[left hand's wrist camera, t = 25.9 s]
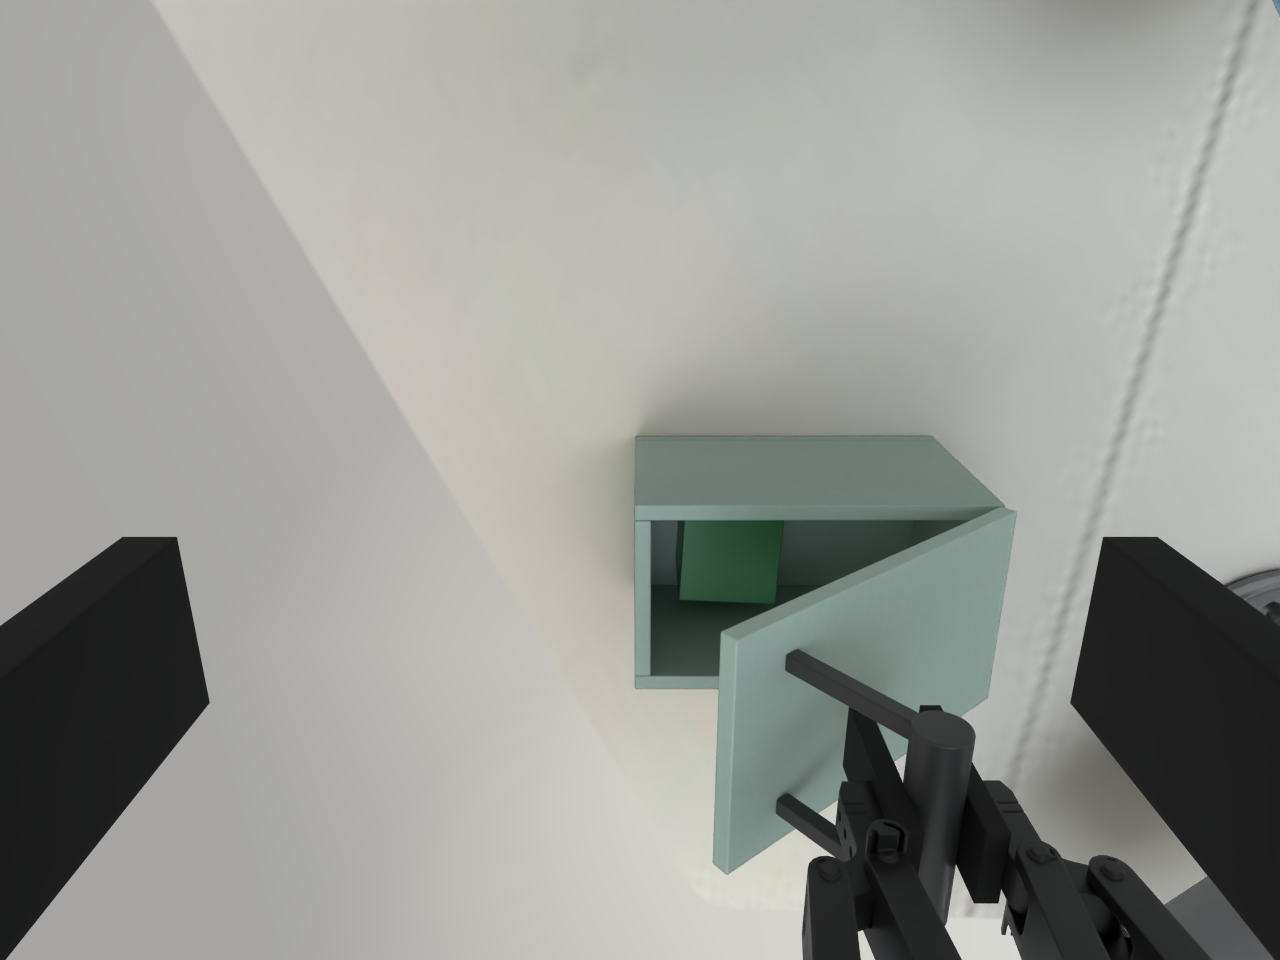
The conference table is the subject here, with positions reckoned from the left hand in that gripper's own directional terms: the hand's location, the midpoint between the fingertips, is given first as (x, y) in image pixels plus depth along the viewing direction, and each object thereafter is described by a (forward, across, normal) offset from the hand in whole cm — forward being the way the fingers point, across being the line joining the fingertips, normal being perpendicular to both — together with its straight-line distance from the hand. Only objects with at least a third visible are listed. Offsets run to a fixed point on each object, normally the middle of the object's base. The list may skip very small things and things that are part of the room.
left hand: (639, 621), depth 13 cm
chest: (+38, +8, -14) cm, 41 cm away
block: (+37, +5, -14) cm, 40 cm away
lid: (+21, +10, -14) cm, 27 cm away
